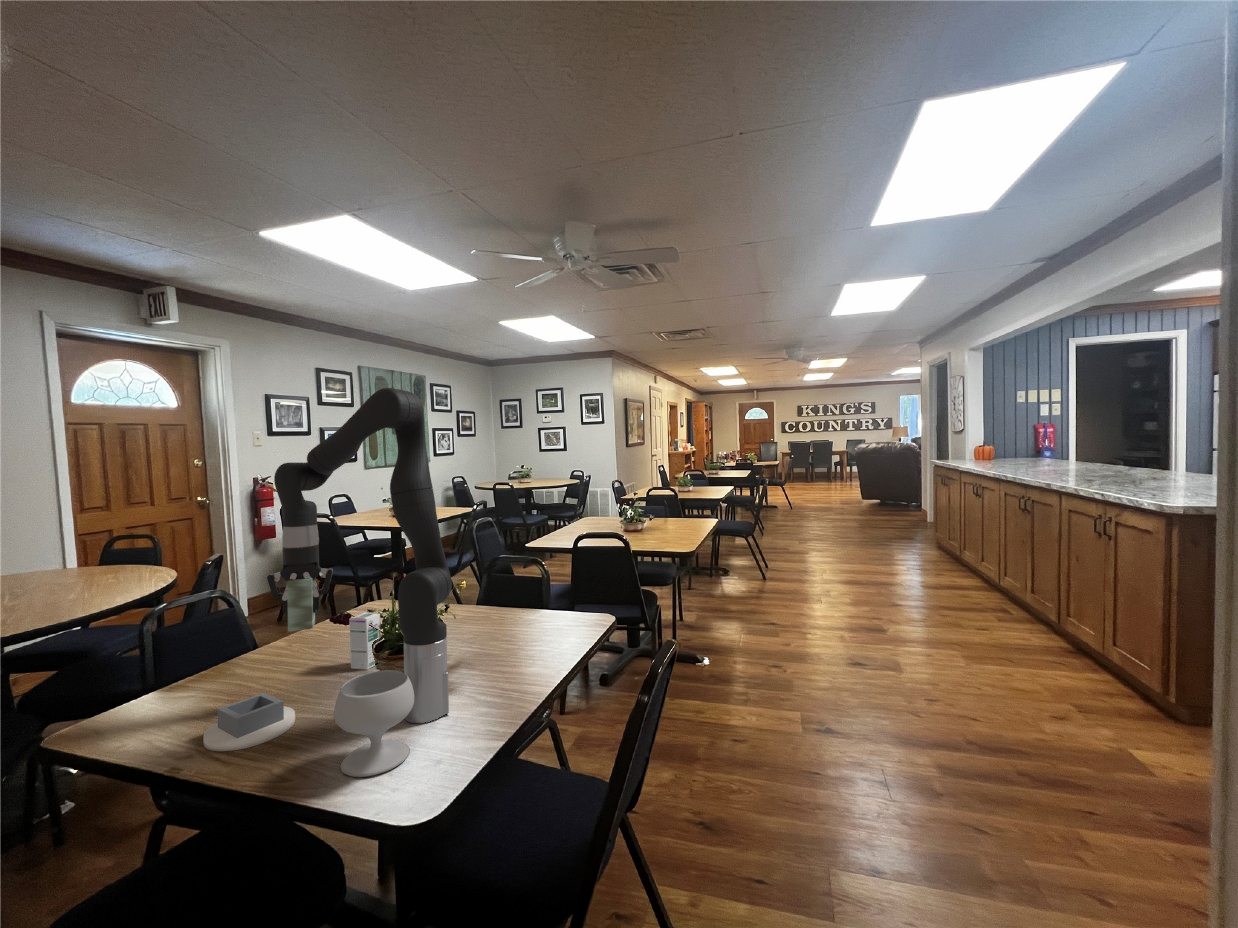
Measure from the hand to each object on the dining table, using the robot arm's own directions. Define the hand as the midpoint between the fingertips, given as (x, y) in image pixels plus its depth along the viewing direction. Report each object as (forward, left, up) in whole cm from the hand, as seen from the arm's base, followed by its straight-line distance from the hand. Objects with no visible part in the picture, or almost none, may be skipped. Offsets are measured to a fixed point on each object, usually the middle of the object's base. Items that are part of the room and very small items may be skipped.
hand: (301, 612), depth 123 cm
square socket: (+8, +12, -21) cm, 26 cm away
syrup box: (-13, -17, -21) cm, 30 cm away
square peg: (0, 0, -3) cm, 3 cm away
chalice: (-17, +36, -21) cm, 45 cm away
